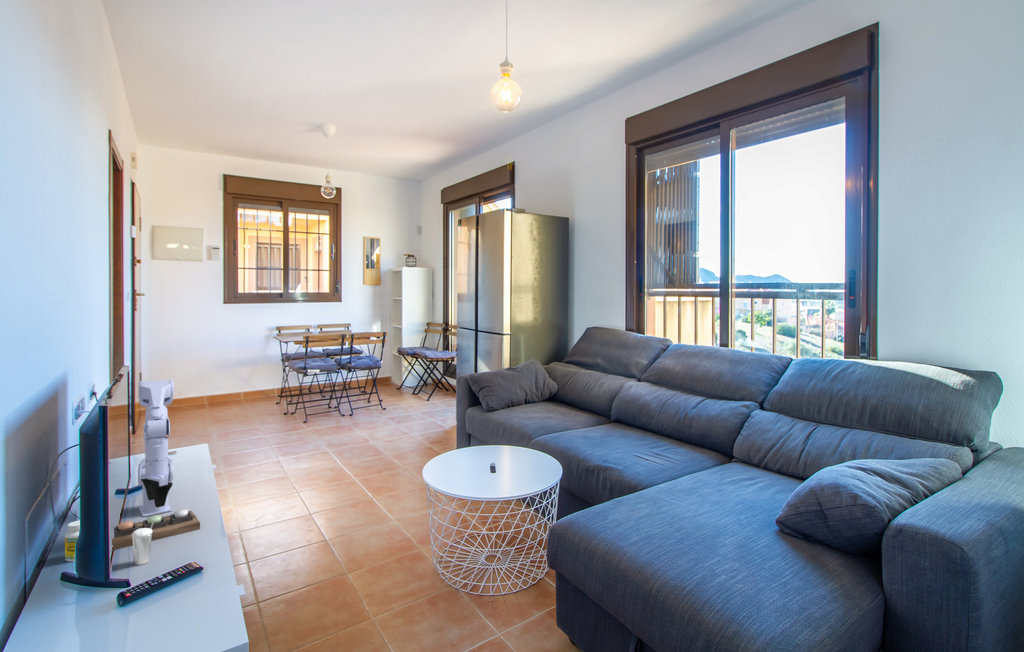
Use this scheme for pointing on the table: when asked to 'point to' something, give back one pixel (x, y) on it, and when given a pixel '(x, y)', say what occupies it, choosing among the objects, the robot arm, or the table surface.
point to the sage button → (154, 519)
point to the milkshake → (142, 545)
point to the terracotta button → (125, 525)
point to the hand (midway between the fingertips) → (156, 502)
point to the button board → (157, 529)
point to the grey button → (180, 513)
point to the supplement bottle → (71, 540)
